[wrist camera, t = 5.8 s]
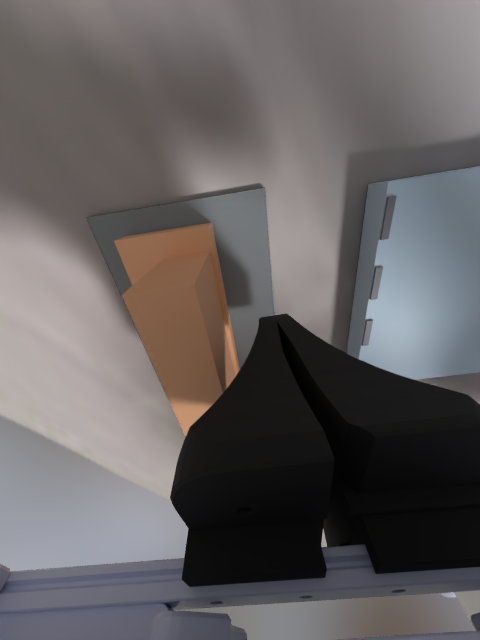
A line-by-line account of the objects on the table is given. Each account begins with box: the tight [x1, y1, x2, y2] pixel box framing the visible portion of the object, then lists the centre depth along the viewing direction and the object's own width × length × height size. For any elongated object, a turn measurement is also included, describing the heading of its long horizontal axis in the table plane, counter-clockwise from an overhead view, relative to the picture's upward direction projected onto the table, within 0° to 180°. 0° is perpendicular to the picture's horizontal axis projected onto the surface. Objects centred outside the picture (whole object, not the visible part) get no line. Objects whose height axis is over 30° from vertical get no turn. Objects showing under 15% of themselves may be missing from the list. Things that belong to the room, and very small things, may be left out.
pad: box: [86, 188, 274, 400], centre depth 12 cm, size 8×12×1 cm, turn 8°
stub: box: [114, 223, 240, 437], centre depth 10 cm, size 4×10×5 cm, turn 8°
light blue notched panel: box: [347, 166, 480, 380], centre depth 11 cm, size 9×11×2 cm
